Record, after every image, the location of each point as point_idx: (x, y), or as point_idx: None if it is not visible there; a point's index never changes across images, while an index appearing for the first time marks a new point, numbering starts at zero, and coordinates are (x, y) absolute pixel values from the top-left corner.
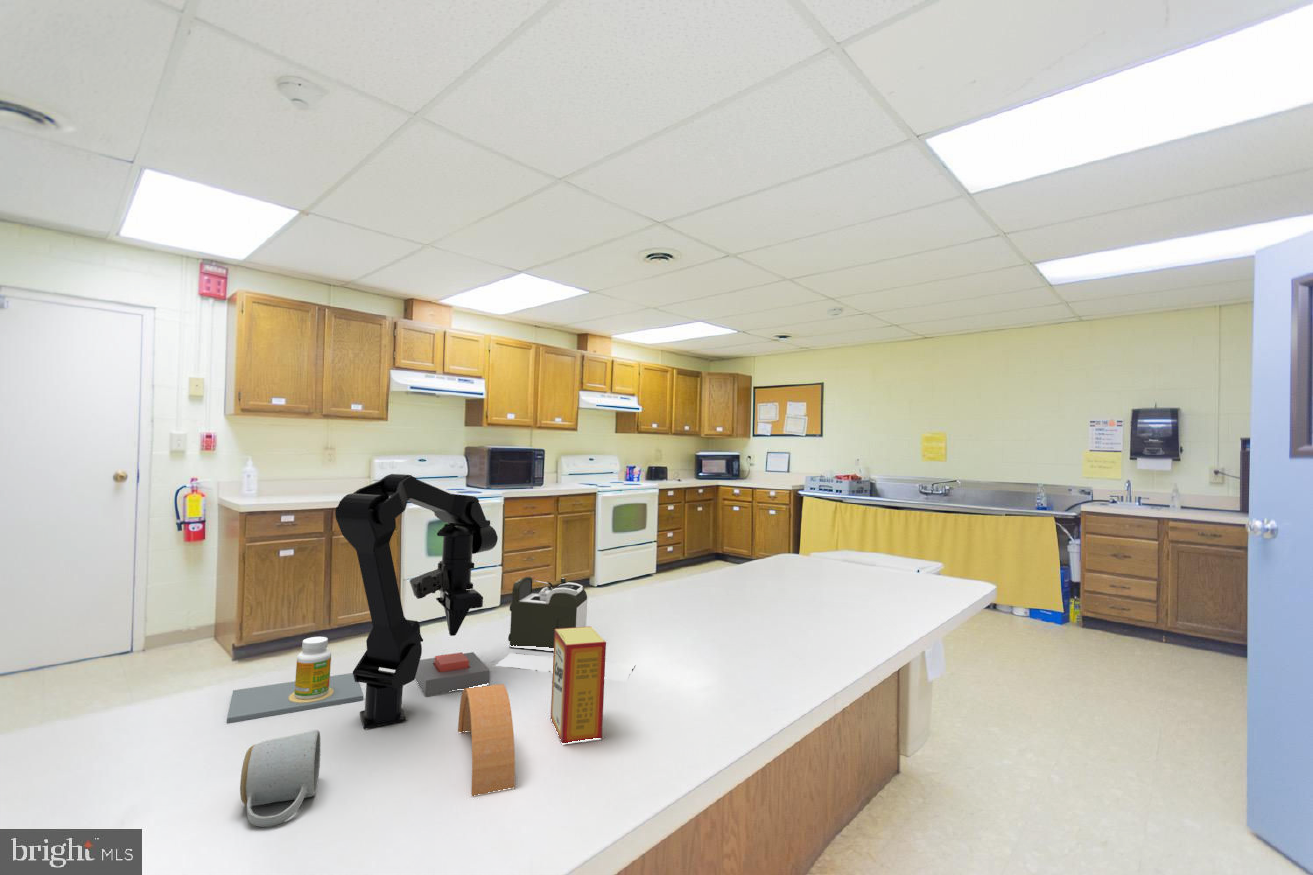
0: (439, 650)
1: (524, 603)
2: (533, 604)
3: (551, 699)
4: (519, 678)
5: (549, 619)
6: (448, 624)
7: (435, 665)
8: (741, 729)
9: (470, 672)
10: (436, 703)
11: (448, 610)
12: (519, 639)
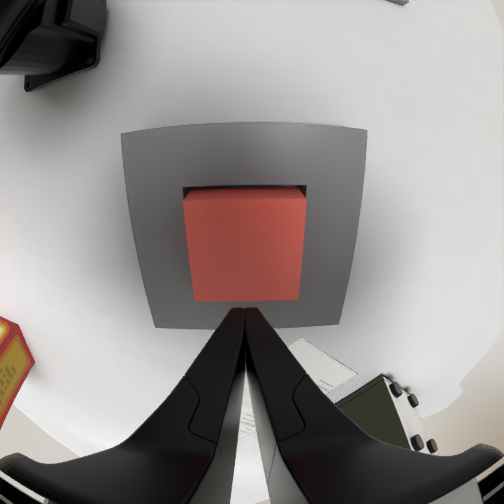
0: (470, 248)
1: None
2: None
3: (3, 344)
4: (189, 358)
5: None
6: (248, 347)
7: (279, 190)
8: (31, 414)
9: (149, 280)
10: (89, 157)
11: (107, 453)
12: (369, 401)
